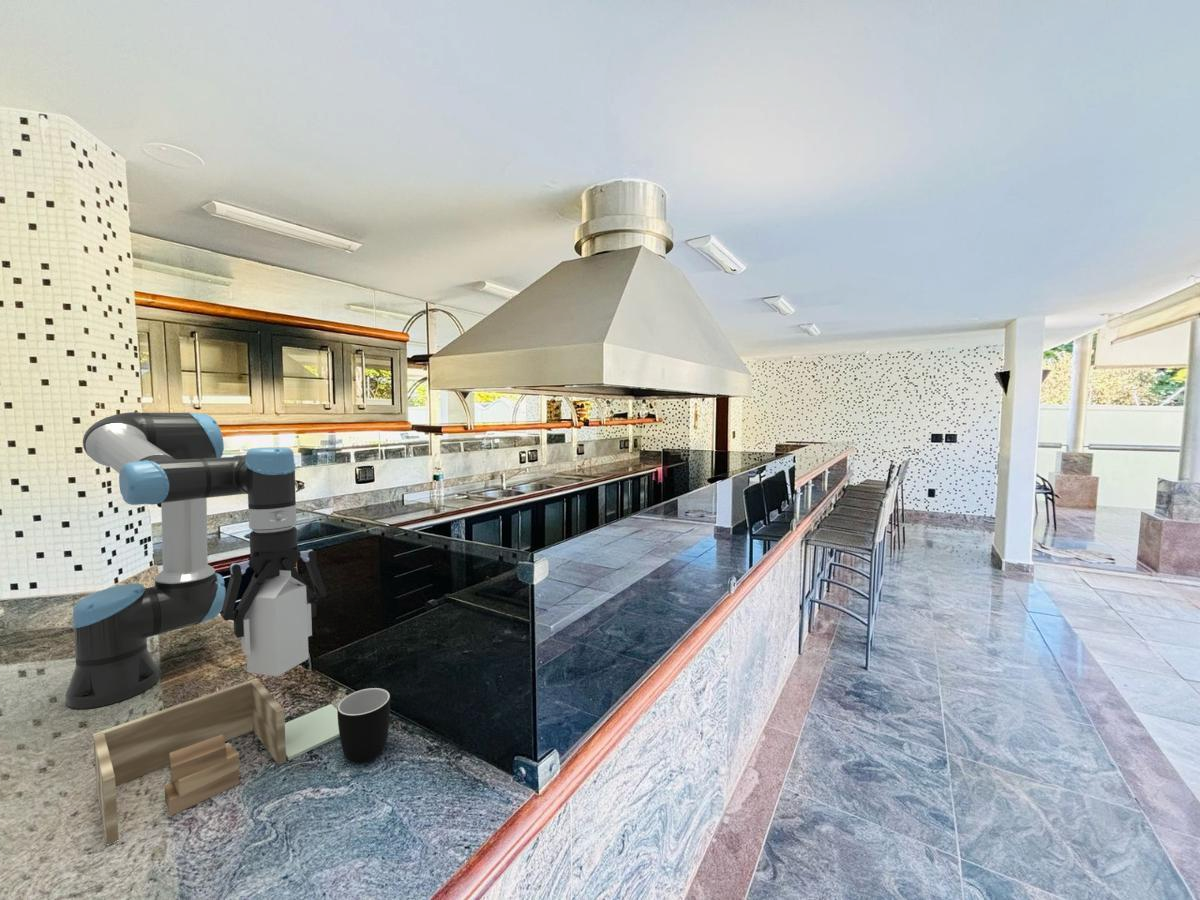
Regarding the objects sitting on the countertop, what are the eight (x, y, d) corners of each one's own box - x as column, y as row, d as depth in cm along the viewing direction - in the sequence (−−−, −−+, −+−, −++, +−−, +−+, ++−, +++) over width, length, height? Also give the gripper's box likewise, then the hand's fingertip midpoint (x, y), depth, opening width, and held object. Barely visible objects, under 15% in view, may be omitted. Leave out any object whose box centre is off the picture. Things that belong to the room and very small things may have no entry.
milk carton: (277, 677, 89) (273, 576, 88) (246, 673, 91) (242, 574, 90) (309, 659, 96) (305, 565, 95) (279, 655, 98) (276, 563, 96)
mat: (267, 733, 97) (267, 730, 97) (331, 706, 106) (331, 703, 106) (288, 760, 89) (288, 757, 89) (355, 729, 98) (355, 726, 98)
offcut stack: (164, 799, 80) (162, 755, 80) (232, 769, 87) (230, 728, 87) (171, 817, 76) (168, 771, 76) (241, 783, 84) (239, 741, 83)
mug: (401, 746, 93) (400, 696, 93) (357, 775, 86) (356, 720, 85) (362, 726, 99) (361, 679, 99) (319, 752, 92) (317, 700, 91)
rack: (96, 790, 82) (93, 733, 81) (258, 724, 100) (256, 678, 99) (107, 846, 71) (103, 781, 71) (286, 761, 89) (284, 709, 88)
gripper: (203, 542, 81) (209, 671, 82) (343, 522, 98) (346, 629, 99) (194, 535, 86) (200, 657, 87) (329, 517, 103) (332, 619, 104)
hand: (278, 642), depth 93 cm, fingers closed on milk carton, 9 cm apart
